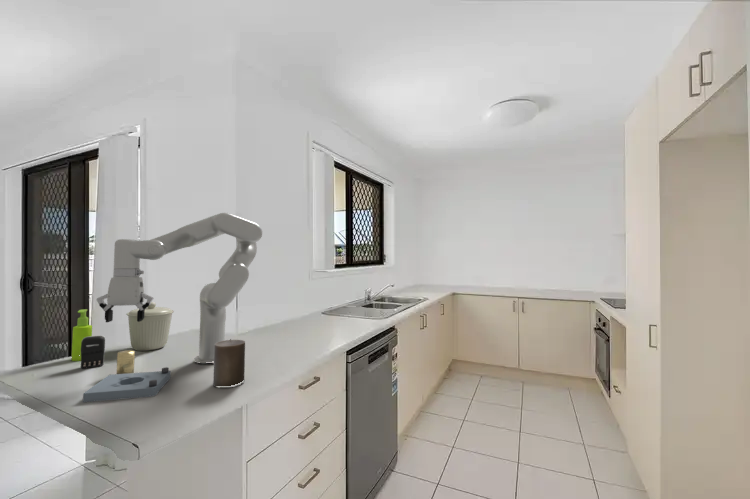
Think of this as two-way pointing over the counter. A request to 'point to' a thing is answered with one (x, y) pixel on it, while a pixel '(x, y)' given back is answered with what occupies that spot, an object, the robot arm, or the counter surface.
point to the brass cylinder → (125, 362)
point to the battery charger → (92, 351)
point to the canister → (150, 328)
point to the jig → (128, 386)
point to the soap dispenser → (80, 334)
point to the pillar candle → (229, 362)
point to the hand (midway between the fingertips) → (124, 321)
